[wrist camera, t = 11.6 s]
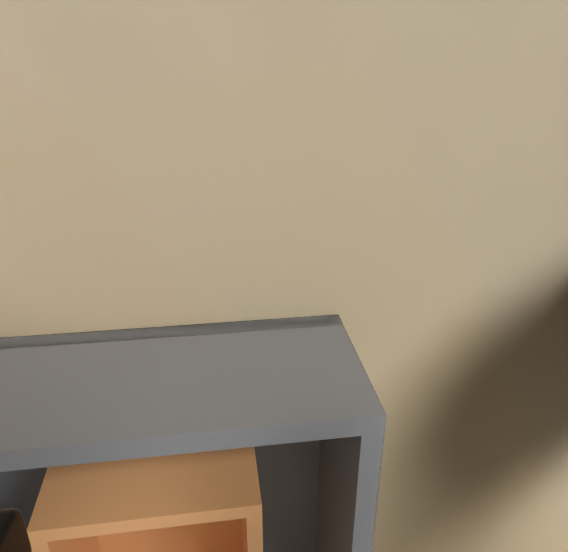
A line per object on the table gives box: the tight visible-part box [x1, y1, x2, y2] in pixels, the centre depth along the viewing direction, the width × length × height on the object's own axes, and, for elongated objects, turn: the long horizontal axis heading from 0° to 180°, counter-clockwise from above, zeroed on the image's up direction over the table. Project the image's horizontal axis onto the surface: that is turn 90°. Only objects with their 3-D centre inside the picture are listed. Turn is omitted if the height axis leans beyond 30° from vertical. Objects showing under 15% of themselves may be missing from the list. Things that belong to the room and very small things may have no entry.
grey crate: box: [0, 315, 386, 552], centre depth 21 cm, size 14×16×6 cm
